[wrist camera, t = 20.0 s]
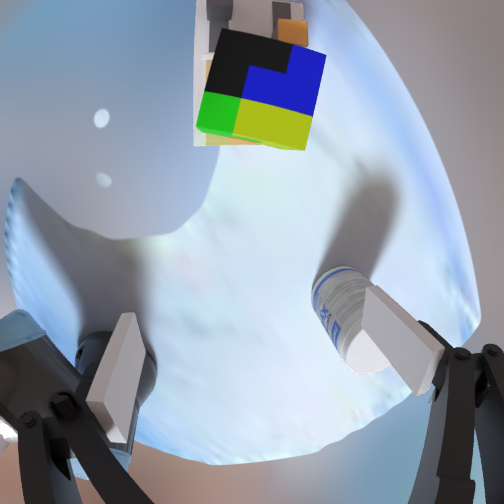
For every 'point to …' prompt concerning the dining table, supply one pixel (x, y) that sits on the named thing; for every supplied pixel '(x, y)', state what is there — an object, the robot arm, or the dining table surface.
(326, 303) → the supplement tub
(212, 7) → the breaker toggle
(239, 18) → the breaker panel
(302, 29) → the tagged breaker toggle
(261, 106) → the puzzle toy
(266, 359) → the dining table surface
